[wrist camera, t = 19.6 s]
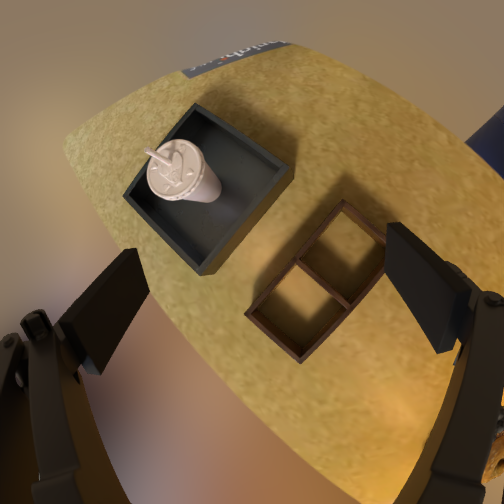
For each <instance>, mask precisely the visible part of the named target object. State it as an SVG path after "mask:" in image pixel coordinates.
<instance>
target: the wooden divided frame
mask: <svg viewBox="0 0 504 504" xmlns="http://www.w3.org/2000/svg"><path fill="white" fill-rule="evenodd" d="M341 211H342V212H343V213H344V214H345V215H347V216H348V217H349V218H350V219H351V220H352V221H354V222H355V223H356V224H357V225H358V226H359V227H361V228H362V229H363V230H364V231H365V232H366V233H367V234H368V235H370V236H371V237H372V238H373V239H374V240H375V241H376V242H377V243H378V244H380V245H381V246H382V247H383V248H384V249H385V250H386V236H385V235H384V234H383V233H382V232H381V231H380V230H379V229H377V228H376V227H375V226H374V225H373V224H372V223H371V222H370V221H368V220H367V219H366V218H365V217H364V216H363V215H362V214H360V213H359V212H358V211H357V210H356V209H355V208H353V207H352V206H351V205H350V204H349V203H347V202H346V201H345V200H344V199H342V200H341V201H340V202H339V203H338V205H337V206H336V207H335V208H334V209H333V211H332V212H331V213H330V214H329V215H328V217H327V218H326V219H325V220H324V222H323V223H322V224H321V225H320V226H319V228H318V229H317V230H316V231H315V232H314V233H313V235H312V236H311V237H310V238H309V239H308V241H307V242H306V243H305V244H304V245H303V247H302V248H301V249H300V250H299V251H298V252H297V254H296V255H295V256H294V257H293V258H292V259H291V261H290V262H289V263H288V264H287V265H286V266H285V268H284V269H283V270H282V271H281V272H280V273H279V274H278V276H277V277H276V278H275V279H274V280H273V281H272V282H271V284H270V285H269V286H268V287H267V288H266V289H265V290H264V292H263V293H262V294H261V295H260V296H259V297H258V298H257V300H256V301H255V302H254V303H253V304H252V305H251V306H250V307H249V309H248V310H247V311H246V312H245V313H244V315H245V316H246V317H247V318H248V319H249V320H250V321H252V322H253V323H254V324H255V325H256V326H257V327H258V328H259V329H260V330H261V331H263V332H264V333H265V334H266V335H267V336H268V337H269V338H270V339H272V340H273V341H274V342H275V343H276V344H277V345H278V346H279V347H281V348H282V349H283V350H284V351H285V352H286V353H287V354H289V355H290V356H291V357H292V358H293V359H294V360H296V361H297V362H298V363H299V364H302V363H303V362H304V361H305V360H306V359H307V358H308V357H309V356H310V355H311V354H312V353H313V352H314V351H315V350H316V349H317V348H318V347H319V346H320V345H321V344H322V343H323V342H324V341H325V340H326V339H327V338H328V337H329V336H330V334H331V333H332V332H333V331H334V330H335V329H336V328H337V327H338V326H339V325H340V324H341V323H342V322H343V321H344V320H345V318H346V317H347V316H348V315H349V314H350V313H351V312H352V311H353V310H354V308H355V307H356V306H357V305H358V304H359V303H360V302H361V301H362V299H363V298H364V297H365V296H366V295H367V294H368V292H369V291H370V290H371V289H372V288H373V287H374V285H375V284H376V283H377V282H378V281H379V279H380V278H381V277H382V276H383V274H384V273H385V272H384V262H385V257H384V258H383V259H382V260H381V262H380V263H379V264H378V265H377V267H376V268H375V269H374V270H373V272H372V273H371V274H370V275H369V276H368V278H367V279H366V280H365V281H364V282H363V284H362V285H361V286H360V287H359V288H358V289H357V291H356V292H355V293H354V294H353V295H352V296H351V297H350V299H349V300H347V299H346V298H345V297H343V296H342V295H341V294H340V293H339V292H338V291H337V290H336V289H335V288H333V287H332V286H331V285H330V284H329V283H328V282H327V281H326V280H324V279H323V278H322V277H321V276H320V275H319V274H318V273H316V272H315V271H314V270H313V269H312V268H311V267H310V266H309V265H307V264H306V263H305V262H304V261H303V260H302V258H303V256H304V255H305V254H306V253H307V252H308V250H309V249H310V248H311V247H312V246H313V245H314V243H315V242H316V241H317V240H318V239H319V237H320V236H321V235H322V234H323V233H324V232H325V230H326V229H327V228H328V227H329V225H330V224H331V223H332V222H333V221H334V219H335V218H336V217H337V216H338V215H339V213H340V212H341ZM296 265H298V266H299V267H300V268H301V269H302V270H303V271H305V272H306V273H307V274H308V275H309V276H310V277H311V278H313V279H314V280H315V281H316V282H317V283H318V284H319V285H320V286H322V287H323V288H324V289H325V290H326V291H327V292H328V293H329V294H331V295H332V296H333V297H334V298H335V299H336V300H337V301H338V302H340V303H341V304H342V305H343V306H342V308H341V309H340V310H339V311H338V312H337V313H336V314H335V315H334V316H333V317H332V319H331V320H330V321H329V322H328V323H327V324H326V325H325V326H324V327H323V328H322V329H321V330H320V331H319V332H318V333H317V334H316V335H315V337H314V338H313V339H312V340H311V341H310V342H309V343H308V344H307V345H306V346H305V347H304V348H303V349H302V348H301V347H300V346H298V345H297V344H296V343H295V342H294V341H293V340H292V339H290V338H289V337H288V336H287V335H286V334H285V333H284V332H282V331H281V330H280V329H279V328H278V327H277V326H276V325H275V324H273V323H272V322H271V321H270V320H269V319H268V318H267V317H266V316H265V315H263V314H262V313H261V312H260V311H259V310H258V308H259V307H260V305H261V304H262V303H263V302H264V301H265V300H266V299H267V298H268V296H269V295H270V294H271V293H272V292H273V291H274V290H275V289H276V287H277V286H278V285H279V284H280V283H281V282H282V281H283V279H284V278H285V277H286V276H287V275H288V274H289V273H290V271H291V270H292V269H293V268H294V267H295V266H296Z"/></svg>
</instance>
